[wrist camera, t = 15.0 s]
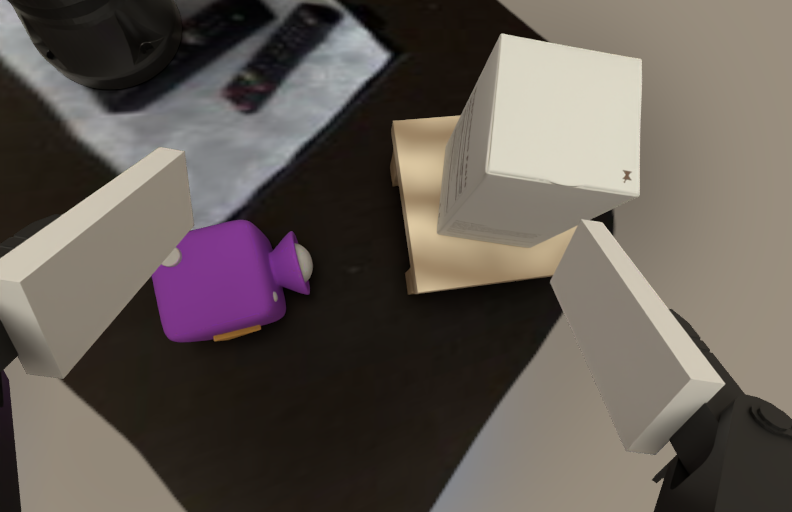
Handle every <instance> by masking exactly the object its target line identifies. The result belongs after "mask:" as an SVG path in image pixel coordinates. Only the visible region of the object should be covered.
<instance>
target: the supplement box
mask: <svg viewBox="0 0 792 512" xmlns="http://www.w3.org/2000/svg"><path fill="white" fill-rule="evenodd" d="M641 93H642V60H641V59H637V58H631V57H626V56H620V55H614V54H609V53H603V52H598V51H592V50H587V49H581V48H575V47H570V46H564V45H559V44H554V43H548V42H543V41H538V40H532V39H527V38H522V37H516V36H511V35H506V34H501V35H500V37H499V39H498V41H497V43H496V45H495V47H494V49H493V51H492V53H491V55H490V57H489V59H488V61H487V63H486V65H485V67H484V69H483V71H482V73H481V75H480V77H479V79H478V81H477V83H476V86H475V88H474V90H473V92H472V94H471V96H470V98H469V100H468V102H467V104H466V106H465V108H464V110H463V112H462V114H461V116H460V118H459V120H458V122H457V124H456V126H455V128H454V130H453V133H452V135H451V137H450V139H449V141H448V142H447V144H446V148H445V156H444V166H443V175H442V185H441V194H440V203H439V213H438V222H437V234H439V235H445V236H452V237H458V238H465V239H472V240H479V241H485V242H492V243H499V244H506V245H512V246H519V247H526V248H531V247H533V246H535V245H537V244H539V243H541V242H544V241H546V240H548V239H550V238H552V237H554V236H556V235H559V234H561V233H563V232H565V231H567V230H569V229H571V228H573V227H575V226H577V225H578V224H579V222H580V220H581V219H584V220H590V219H592V218H594V217H596V216H599V215H601V214H603V213H605V212H607V211H609V210H611V209H613V208H615V207H617V206H619V205H622V204H624V203H626V202H628V201H630V200H632V199H634V198H637V197H638V196H639V191H640V182H639V181H640V177H639V176H640V169H639V168H640V116H641Z"/></svg>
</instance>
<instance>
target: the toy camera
mask: <svg viewBox="0 0 792 512" xmlns="http://www.w3.org/2000/svg"><path fill="white" fill-rule="evenodd" d="M312 270H313V263H312V259H311V256H310V254H309V252H308V251H307V250H306V249H305V248H304V247H303V246H301V245H299V244H298V241H297V239H296V236H295V234H294V232H293V231H291V232H289V233H288V234H287V235H286V236H285V237H284V238H283V239H282V241H281V242H280V243H279V244H278V245H277V247H276V248H275V249H274V250H273V249H272V246H271V244H270V242H269V240H268V239H267V237H266V236H265V235H264V234H263V233H262V232H261V231H260V230H259V229H258V228H257V227H256V226H255V225H254V224H252V223H251V222H249V221H247V220H235V221H229V222H225V223H221V224H217V225H212V226H208V227H204V228H200V229H196V230H192V231H189V232H188V233H187V234H186V236H185V237H184V238H183V239H182V240H181V241H180V243H179V244H178V245H177V246H176V247H175V248H174V250H173V251H172V252H171V253H170V254H169V255H168V257H167V258H166V259H165V260H164V261H163V263H162V264H161V265H160V266H159V267H158V268H157V270H156V271H155V272H154V273H153V274H152V280H153V284H154V289H155V294H156V299H157V304H158V309H159V313H160V318H161V322H162V326H163V329H164V332H165V334H166V336H167V337H168V338H169V339H170V340H172V341H175V342H194V341H205V340H212V339H214V341H223V340H230V339H233V338H236V337H239V336H243V335H246V334H249V333H252V332H255V331H258V330H261V326H262V325H266V324H269V323H272V322H275V321H277V320H279V319H281V318H282V317H283V316H284V315H285V312H286V302H285V297H284V292H283V288H282V287H285V288H288V289H290V290H293V291H296V292H299V293H302V294H306V295H309V294H310V286H309V281H308V279H309V278H310V276H311V274H312Z"/></svg>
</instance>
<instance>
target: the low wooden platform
mask: <svg viewBox="0 0 792 512" xmlns="http://www.w3.org/2000/svg"><path fill="white" fill-rule="evenodd" d="M459 118H460V116H449V117H436V118H424V119H411V120H399V121H393V124H392V129H391V134H392V141H393V148H394V151H393V155H392V160H391V164H390V171H391V178H392V185H393V186H399V189H400V196H401V203H402V210H403V217H404V224H405V231H406V238H407V245H408V252H409V259H410V266H411V268H410V269H409V270H408V271H407V272H406V273H405V277H406V284H407V291H408V295H410V294H421V293H429V292H436V291H444V290H452V289H459V288H467V287H474V286H482V285H489V284H497V283H504V282H512V281H520V280H527V279H535V278H542V277H550V276H553V275H554V273H555V271H556V269H557V267H558V265H559V263H560V261H561V259H562V256H563V254H564V252H565V250H566V248H567V246H568V244H569V242H570V240H571V238H572V236H573V234H574V232H575V230H576V228H577V226H578V225H577V226H575V227H573V228H571V229H569V230H567V231H565V232H563V233H561V234H559V235H556V236H554V237H552V238H550V239H548V240H546V241H544V242H541V243H539V244H537V245H535V246H533V247H531V248H526V247H519V246H512V245H506V244H499V243H492V242H485V241H479V240H472V239H465V238H458V237H452V236H445V235H439V234H437V222H438V213H439V203H440V194H441V185H442V175H443V166H444V156H445V148H446V144H447V142H448V141H449V139H450V137H451V135H452V133H453V130H454V128H455V126H456V124H457V122H458V120H459Z"/></svg>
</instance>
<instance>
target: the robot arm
mask: <svg viewBox="0 0 792 512" xmlns="http://www.w3.org/2000/svg"><path fill="white" fill-rule="evenodd" d="M8 1H9V2H10V3H11V4H12V6H13V8H14V10H15V11H16V13H17V15H18V17H19V19H20V20H21V22H22V24H23V26H24V28H25V29H26V31H27V33H28V35H29V37H30V38H31V40H32V42H33V44H34V45H35V47H36V48H37V50H38V51H39V52H40V54H41V55H42V56H43V57H44V58H45V59H46V60H47V61H48V62H49V63H50V64H52V65H53V66H54V67H55V68H56V69H57V70H58V71H60V72H61V73H62V74H63V75H65V76H66V77H67V78H69V79H71V80H73V81H74V82H77V83H79V84H81V85H84V86H87V87H91V88H97V89H107V90H112V89H123V88H128V87H132V86H135V85H138V84H141V83H143V82H145V81H147V80H149V79H151V78H153V77H154V76H156V75H157V74H158V73H160V72H161V71H162V70H163V69H164V68H165V67H166V66H167V65H168V64H169V63H170V62H171V60H172V59H173V57H174V56H175V54H176V52H177V50H178V48H179V45H180V42H181V37H182V21H181V16H180V13H179V10H178V8H177V6H176V4H175V2H174V0H8ZM193 226H194V222H193V214H192V206H191V198H190V190H189V183H188V175H187V167H186V159H185V151H180V150H174V149H168V148H162V147H159V148H157V149H156V150H155V151H153V152H152V153H150V154H149V155H147V156H146V157H145V158H143V159H142V160H140V161H139V162H137V163H136V164H135V165H133V166H132V167H130V168H129V169H127V170H126V171H125V172H123V173H122V174H120V175H119V176H117V177H116V178H115V179H113V180H112V181H110V182H109V183H107V184H106V185H105V186H103V187H102V188H100V189H99V190H97V191H96V192H95V193H93V194H92V195H90V196H89V197H87V198H86V199H85V200H83V201H82V202H80V203H79V204H77V205H76V206H75V207H73V208H72V209H70V210H69V211H67V212H66V213H65V214H63V215H58V214H55V215H52V216H49V217H47V218H44V219H41V220H38V221H36V222H33V223H31V224H29V225H28V226H26V227H25V228H23V229H22V230H20V231H19V232H17V233H16V234H14V237H13V238H12V237H10V238H8V239H7V240H5V241H4V242H2V243H1V244H0V512H21V504H20V493H19V482H18V472H17V461H16V451H15V440H14V429H13V419H12V408H11V398H10V387H9V379H8V378H7V376H6V374H5V372H4V369H5V367H6V366H8V365H9V364H10V363H11V362H12V361H13V360H14V359H15V358H16V357H17V356H18V358H19V360H20V362H21V364H22V366H23V368H24V370H25V371H26V373H27V374H30V375H38V376H46V377H54V378H61V379H64V377H65V376H66V375H67V374H68V373H69V372H70V370H71V369H72V368H73V367H74V366H75V365H76V363H77V362H78V361H79V360H80V359H81V358H82V356H83V355H84V354H85V353H86V352H87V350H88V349H89V348H90V347H91V346H92V345H93V343H94V342H95V341H96V340H97V339H98V338H99V336H100V335H101V334H102V333H103V332H104V331H105V329H106V328H107V327H108V326H109V325H110V324H111V322H112V321H113V320H114V319H115V318H116V316H117V315H118V314H119V313H120V312H121V311H122V309H123V308H124V307H125V306H126V305H127V304H128V302H129V301H130V300H131V299H132V298H133V297H134V295H135V294H136V293H137V292H138V291H139V289H140V288H141V287H142V286H143V285H144V284H145V282H146V281H147V280H148V279H149V278H150V277H151V275H152V274H153V273H154V272H155V271H156V270H157V268H158V267H159V266H160V265H161V264H162V263H163V261H164V260H165V259H166V258H167V257H168V255H169V254H170V253H171V252H172V251H173V250H174V248H175V247H176V246H177V245H178V244H179V243H180V241H181V240H182V239H183V238H184V237H185V236H186V234H187V233H188V232H189V231H190V230H191V229H192V227H193ZM550 283H551V285H552V288H553V290H554V292H555V294H556V296H557V299H558V301H559V303H560V305H561V308H562V310H563V312H564V314H565V317H566V319H567V321H568V323H569V325H570V328H571V330H572V332H573V334H574V337H575V339H576V341H577V343H578V346H579V348H580V350H581V352H582V354H583V357H584V359H585V361H586V363H587V366H588V368H589V370H590V372H591V375H592V377H593V379H594V381H595V384H596V386H597V388H598V390H599V392H600V395H601V397H602V399H603V401H604V404H605V406H606V408H607V410H608V412H609V415H610V417H611V419H612V421H613V424H614V426H615V428H616V430H617V433H618V435H619V437H620V439H621V442H622V443H623V446H624V448H625V450H626V451H629V452H636V453H644V454H653V455H656V454H657V453H658V452H659V451H660V450H661V449H662V448H663V447H664V446H665V445H666V444H667V443H668V442H669V441H670V442H671V444H672V446H673V448H674V449H675V451H676V453H677V455H676V456H675V457H674V458H673V459H672V460H671V461H670V462H669V463H668V464H667V465H666V466H665V467H664V468H663V469H662V470H661V471H660V472H659V473H658V474H656V476H655V477H654V478H653V479H652V480H653V481H654V482H656V483H657V482H659V481H660V480H661V479H662V478H664V481H663V484H662V487H661V490H660V494H659V497H658V500H657V503H656V506H655V510H654V512H792V419H791V418H790V417H789V416H788V415H786V413H784V412H783V411H781V410H780V409H778V408H777V407H775V406H774V405H772V404H771V403H769V402H767V401H764V400H762V399H760V398H758V397H753V396H749V395H745V394H744V392H743V391H742V390H741V389H740V387H739V386H738V385H737V383H736V382H735V381H734V380H733V378H732V377H731V376H730V375H729V373H728V372H727V371H726V370H725V368H724V367H723V366H722V364H721V363H720V362H719V361H718V359H717V358H716V357H715V356H714V354H713V353H710V349H709V348H708V347H707V346H706V344H705V343H704V342H703V341H701V340H700V337H699V335H698V334H697V333H696V332H695V331H694V329H693V328H692V327H691V325H690V324H689V323H688V322H687V321H686V320H684V319H683V318H682V317H681V316H680V315H678V314H677V313H676V312H674V311H673V310H672V309H668V308H667V307H666V305H665V304H664V303H663V301H662V300H661V299H660V297H659V296H658V295H657V293H656V292H655V291H654V290H653V288H652V287H651V286H650V285H649V283H648V282H647V280H646V279H645V278H644V276H643V275H642V274H641V273H640V271H639V270H638V269H637V267H636V266H635V265H634V263H633V262H632V261H631V259H630V258H629V257H628V256H627V254H626V253H625V252H624V250H623V249H622V248H621V246H620V245H619V244H618V242H617V241H616V240H615V238H614V237H613V236H612V234H611V233H610V232H609V231H608V229H607V228H606V227H605V225H604V224H603V223H602V222H596V221H590V220H584V219H581V220H580V222H579V224H578V226H577V228H576V230H575V232H574V234H573V236H572V238H571V240H570V242H569V244H568V246H567V248H566V250H565V252H564V254H563V256H562V259H561V261H560V263H559V265H558V267H557V269H556V271H555V273H554V275H553V277H552V279H551V281H550Z"/></svg>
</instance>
